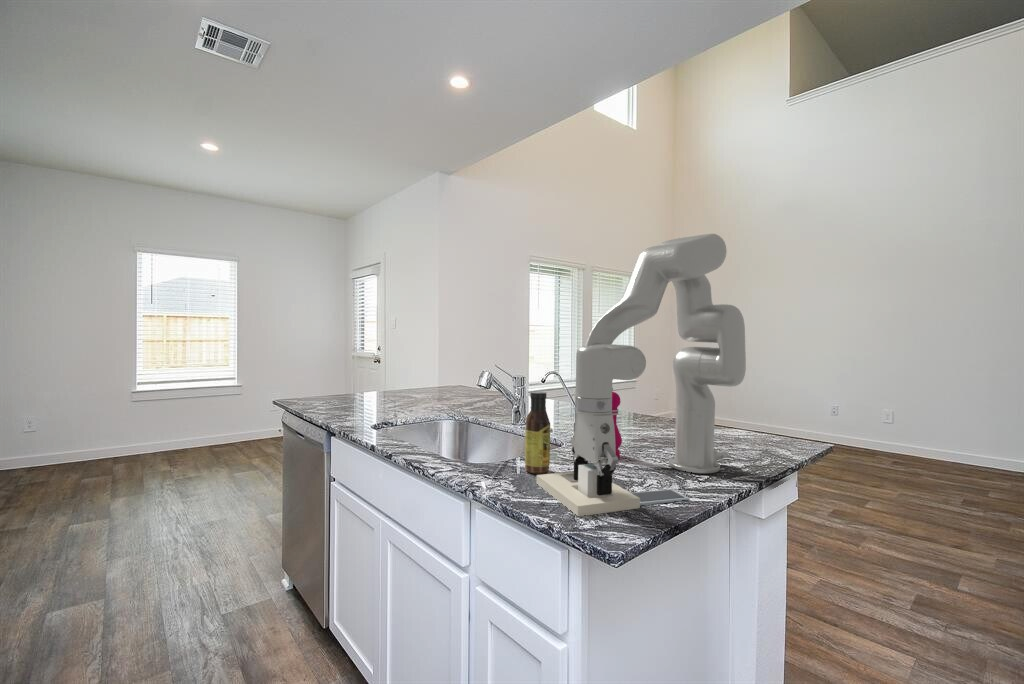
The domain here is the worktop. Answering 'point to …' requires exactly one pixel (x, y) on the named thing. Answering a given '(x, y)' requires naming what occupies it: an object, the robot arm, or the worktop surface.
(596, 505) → the outlet plate
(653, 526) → the worktop surface
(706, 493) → the worktop surface
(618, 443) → the pepper mill
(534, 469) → the sauce bottle
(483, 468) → the worktop surface
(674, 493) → the plate
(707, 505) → the worktop surface
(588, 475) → the plug
